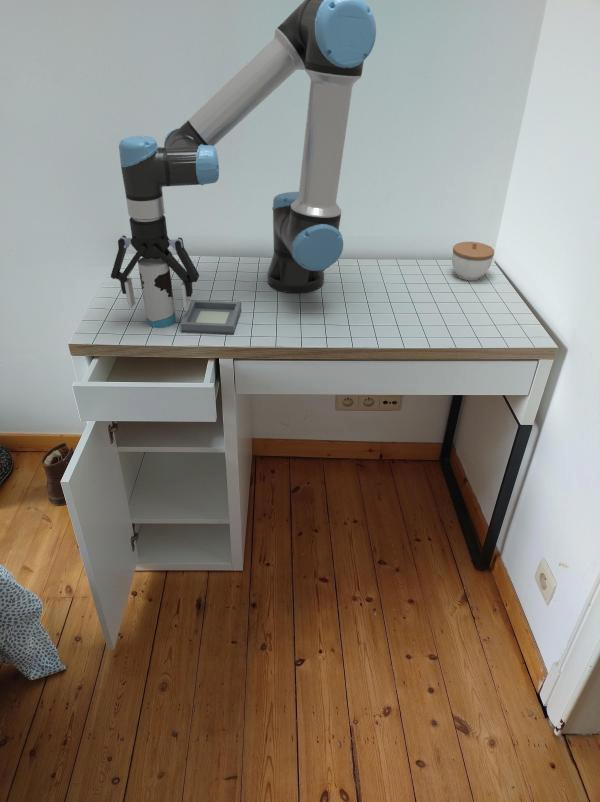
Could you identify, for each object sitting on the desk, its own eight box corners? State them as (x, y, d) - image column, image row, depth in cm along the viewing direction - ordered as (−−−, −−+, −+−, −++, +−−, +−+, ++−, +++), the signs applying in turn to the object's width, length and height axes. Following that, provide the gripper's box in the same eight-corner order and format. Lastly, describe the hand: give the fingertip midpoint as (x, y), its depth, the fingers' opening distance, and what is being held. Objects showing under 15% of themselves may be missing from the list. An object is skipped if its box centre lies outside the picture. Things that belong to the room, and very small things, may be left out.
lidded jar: (477, 287, 160) (484, 254, 155) (441, 276, 166) (446, 243, 160) (495, 275, 167) (502, 242, 161) (460, 264, 172) (466, 232, 167)
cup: (181, 319, 144) (175, 259, 135) (161, 330, 139) (152, 269, 131) (161, 311, 147) (153, 252, 138) (140, 322, 143) (131, 262, 134)
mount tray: (241, 310, 148) (241, 302, 147) (233, 334, 138) (233, 326, 137) (192, 308, 149) (192, 300, 147) (181, 332, 139) (180, 323, 138)
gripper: (207, 212, 131) (214, 302, 144) (96, 208, 132) (113, 297, 145) (200, 224, 125) (208, 317, 138) (84, 219, 126) (102, 312, 139)
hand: (159, 307), depth 141 cm, fingers open, 12 cm apart
